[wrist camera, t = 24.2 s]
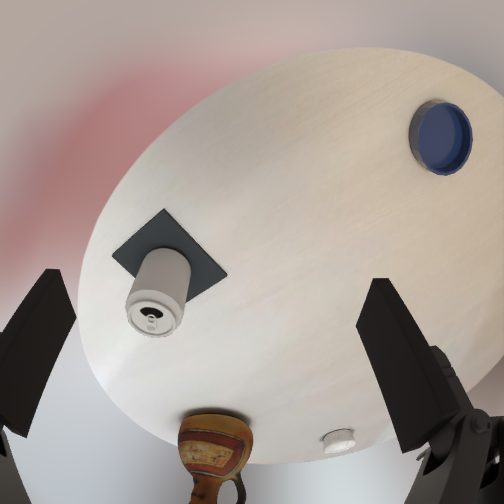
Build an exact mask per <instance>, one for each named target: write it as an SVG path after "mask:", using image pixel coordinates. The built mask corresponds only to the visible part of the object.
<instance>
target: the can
mask: <svg viewBox="0 0 504 504" xmlns="http://www.w3.org/2000/svg"><path fill="white" fill-rule="evenodd" d="M190 276H191V267H190V265H189V263H188V261H187V260H186V258H185V257H184V256H183V255H182V254H180V253H178V252H177V251H175V250H171V249H168V248H159V249H156V250H153V251H151V252H150V253H148V254H147V255H146V257H145V259H144V260H143V262H142V265H141V267H140V269H139V272H138V274H137V276H136V279H135V281H134V283H133V286H132V288H131V290H130V293H129V295H128V298H127V300H126V306H125V309H126V312H127V318H128V322H129V323H130V325H131V326H132V327H133V328H134V329H135V330H136V331H137V332H139V333H141V334H142V335H144V336H148V337H151V338H162V337H166V336H168V335H170V334H172V333H173V331H174V330H175V329H176V328H177V327H178V326H179V325H180V324H181V321H182V318H183V313H184V307H185V302H186V297H187V291H188V286H189V281H190Z"/></svg>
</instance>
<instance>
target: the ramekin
mask: <svg viewBox="0 0 504 504" xmlns="http://www.w3.org/2000/svg"><path fill="white" fill-rule="evenodd" d="M355 444H356V440H355V439H354V437H353V435H352V433H351V431H349V430H347V429H343V430H338V431H334V432H331V433H329V434H327V435H326V436H325V438H324V448H323V451H324V452H325V453H336V452H341V451H344V450H346V449H349V448H351V447H352V446H354V445H355Z"/></svg>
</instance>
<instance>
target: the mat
mask: <svg viewBox="0 0 504 504" xmlns="http://www.w3.org/2000/svg"><path fill="white" fill-rule="evenodd" d="M159 248H168V249H171V250H175V251H177V252H178V253H180V254H182V255H183V256H184V257H185V258H186V260H187V261H188V263H189V265H190V267H191V276H190V281H189V286H188V291H187V297H186V302H188V301H189V300H191V299H193V298H194V297H196V296H197V295H199V294H200V293H202V292H203V291H205V290H207V289H208V288H210V287H211V286H213V285H214V284H216V283H217V282H219V281H221V280H222V279H224V278H225V277H227V273H226V272H225V271H224V270H223V269H222V268H221V267H220V266H219V265H218V264H217V263H216V262H215V261H214V260H213V259H212V258H211V257H210V256H209V255H208V254H207V253H206V252H205V251H204V250H203V249H202V248H201V247H200V246H199V245H198V244H197V243H196V242H195V240H194V239H193V238H192V237H191V236H190V235H189V234H188V233H187V232H186V231H185V230H184V229H183V228H182V227H181V226H180V225H179V224H178V223H177V222H176V221H175V220H174V219H173V217H172V216H171V215H170V214H169V213H168V212H167V211H166V210H165V209H163V210H162V211H161V212H160V213H158V214H157V215H156V216H155V217H154V218H153V219H151V220H150V221H149V222H148V223H147V224H146V225H144V226H143V227H142V228H141V229H140V230H139V231H138V232H137V233H135V234H134V235H133V236H132V237H131V238H130V239H129V240H128V241H127V242H125V243H124V244H123V245H122V246H121V247H120V248H119V249H118V250H117V251H116V252H115V253H113V255H112V257H113V258H114V259H115V260H116V261H117V262H118V263H119V264H120V265H121V266H123V267H124V268H125V269H126V270H127V271H128V272H129V273H130V274H131V275H132V276H133V277H134V278H136V276H137V274H138V272H139V269H140V267H141V265H142V262H143V260H144V259H145V257H146V255H147V254H148V253H150V252H151V251H153V250H156V249H159ZM186 302H185V303H186Z"/></svg>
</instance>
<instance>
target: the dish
mask: <svg viewBox="0 0 504 504" xmlns="http://www.w3.org/2000/svg"><path fill="white" fill-rule="evenodd" d="M409 141H410V146H411V150H412V153H413V155H414V157H415V158H416V160H417V161H418V162H419V163H420V164H421V165H422V166H423V167H425V168H427V169H428V170H430V171H432V172H434V173H435V174H437V175H444V176H447V175H450V174H454V173H455V172H457V171H458V170H459V169H461V168H462V167H463V165H464V164H465V163H466V161H467V160H468V157H469V155H470V152H471V148H472V141H473V137H472V128H471V125H470V122H469V119H468V118H467V116H466V115H465V113H464V112H463V110H461V109H460V108H459V107H458V106H456V105H454V104H451V103H448V102H443V101H430V102H427V103H425V104H424V105H422V106H421V107H420V108H419V109H418V110H417V112H416V113H415V115H414V116H413V119H412V121H411V125H410V130H409Z"/></svg>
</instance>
